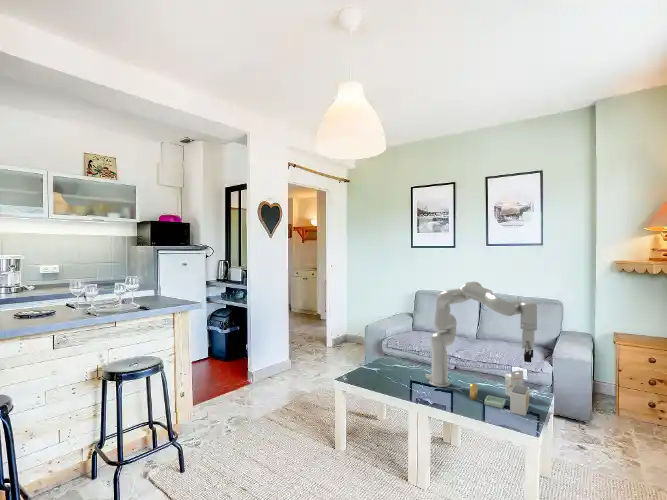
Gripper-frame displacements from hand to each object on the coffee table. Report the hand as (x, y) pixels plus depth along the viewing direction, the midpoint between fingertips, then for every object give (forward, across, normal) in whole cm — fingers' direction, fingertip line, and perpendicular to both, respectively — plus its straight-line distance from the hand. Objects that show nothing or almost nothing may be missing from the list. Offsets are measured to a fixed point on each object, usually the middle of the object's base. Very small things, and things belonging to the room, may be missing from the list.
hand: (528, 359), depth 188 cm
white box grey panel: (+26, 0, -4) cm, 27 cm away
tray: (+26, 0, -16) cm, 31 cm away
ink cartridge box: (+27, -18, -9) cm, 33 cm away
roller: (+26, 0, -27) cm, 38 cm away
